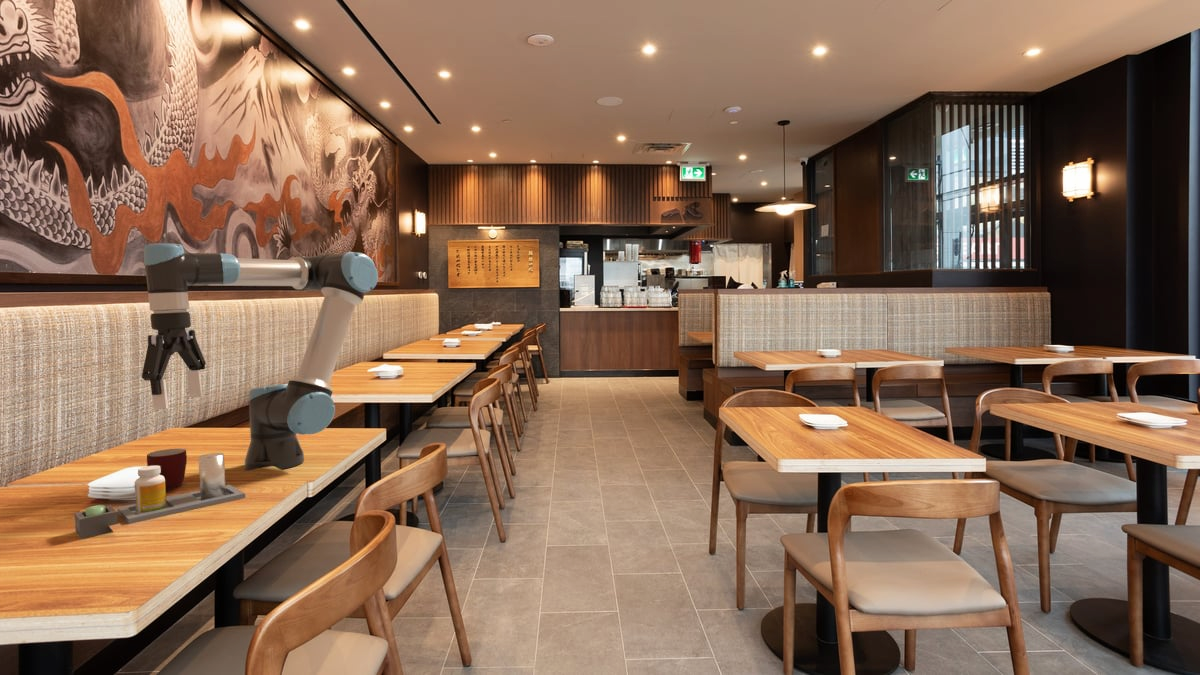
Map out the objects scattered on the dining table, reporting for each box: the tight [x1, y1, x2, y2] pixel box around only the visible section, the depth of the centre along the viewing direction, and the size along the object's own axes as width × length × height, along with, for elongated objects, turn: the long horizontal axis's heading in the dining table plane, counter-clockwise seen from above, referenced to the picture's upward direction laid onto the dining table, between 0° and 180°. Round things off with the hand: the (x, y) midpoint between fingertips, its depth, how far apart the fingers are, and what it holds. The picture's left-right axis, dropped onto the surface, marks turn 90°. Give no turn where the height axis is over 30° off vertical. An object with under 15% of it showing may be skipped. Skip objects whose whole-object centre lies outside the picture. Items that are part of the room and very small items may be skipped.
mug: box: [146, 448, 188, 490], centre depth 153 cm, size 10×8×10 cm
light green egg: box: [84, 504, 106, 517], centre depth 128 cm, size 3×3×4 cm
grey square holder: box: [73, 505, 119, 540], centre depth 128 cm, size 6×6×4 cm
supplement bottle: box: [134, 466, 167, 514], centre depth 135 cm, size 5×5×10 cm
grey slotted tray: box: [116, 484, 246, 525], centre depth 140 cm, size 22×11×2 cm, turn 137°
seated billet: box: [198, 452, 227, 501], centre depth 144 cm, size 5×5×10 cm
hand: (179, 402), depth 145 cm, fingers open, 13 cm apart
